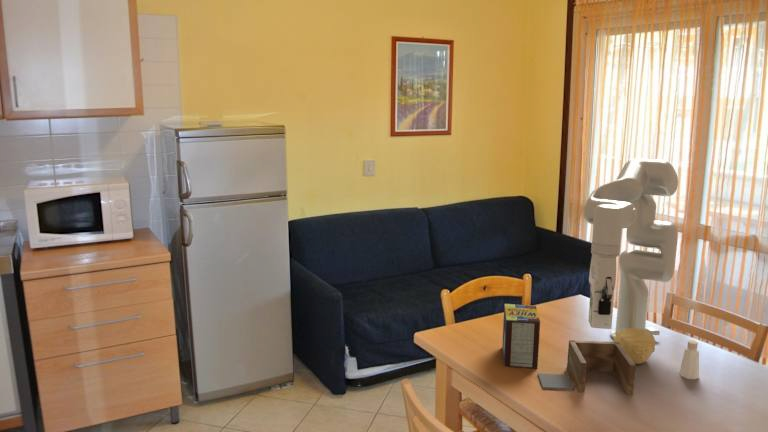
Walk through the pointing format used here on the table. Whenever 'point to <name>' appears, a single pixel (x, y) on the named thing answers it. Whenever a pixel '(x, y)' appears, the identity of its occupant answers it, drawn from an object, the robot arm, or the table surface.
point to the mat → (556, 381)
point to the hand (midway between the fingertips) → (600, 309)
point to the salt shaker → (690, 361)
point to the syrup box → (594, 317)
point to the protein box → (521, 336)
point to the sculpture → (636, 344)
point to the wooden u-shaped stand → (600, 362)
